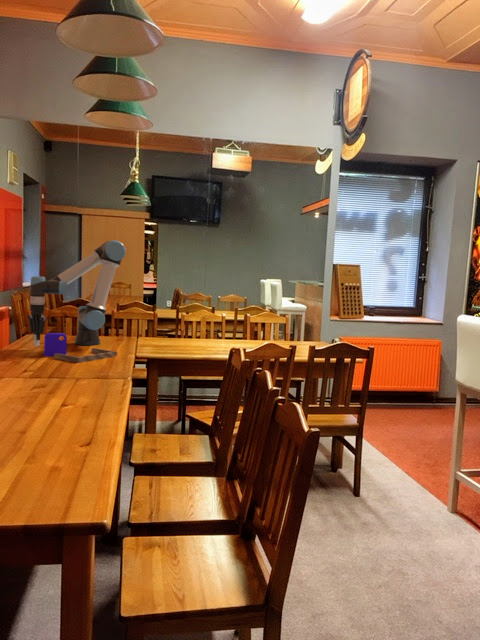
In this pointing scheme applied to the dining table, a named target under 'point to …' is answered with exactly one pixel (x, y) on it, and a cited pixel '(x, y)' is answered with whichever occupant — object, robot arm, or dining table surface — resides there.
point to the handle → (100, 355)
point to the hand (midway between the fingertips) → (36, 345)
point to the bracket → (55, 344)
